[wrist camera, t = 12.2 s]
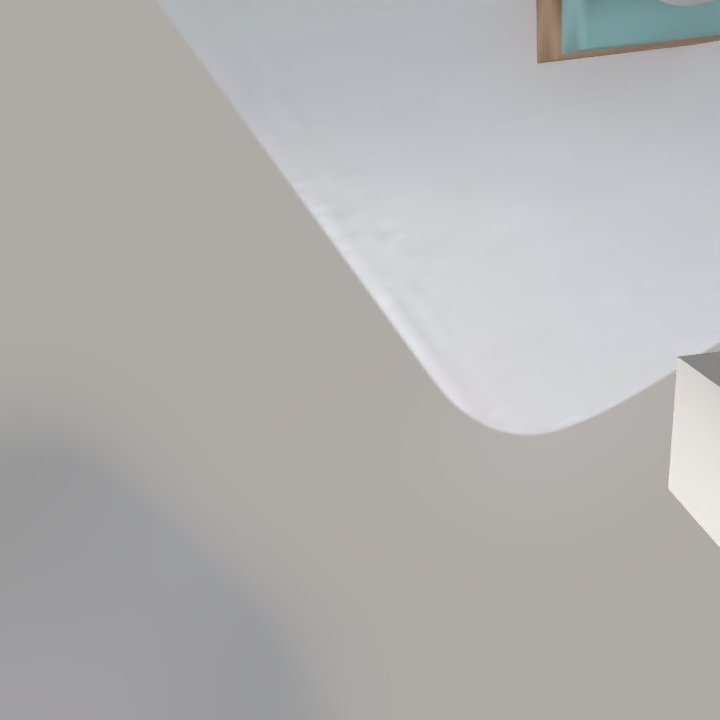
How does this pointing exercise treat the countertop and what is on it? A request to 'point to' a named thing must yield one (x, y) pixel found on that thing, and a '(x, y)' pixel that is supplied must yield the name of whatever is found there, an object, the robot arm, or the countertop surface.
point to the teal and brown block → (620, 27)
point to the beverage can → (686, 2)
